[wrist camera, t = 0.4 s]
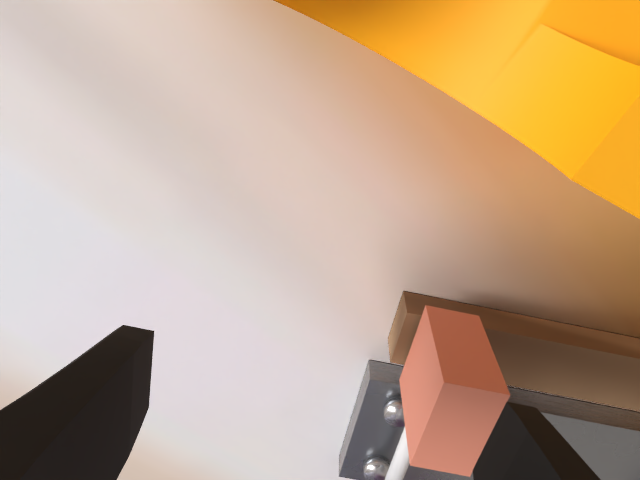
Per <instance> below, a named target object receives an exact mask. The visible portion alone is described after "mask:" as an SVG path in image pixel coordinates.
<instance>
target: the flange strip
mask: <svg viewBox="0 0 640 480" xmlns="http://www.w3.org/2000/svg"><path fill="white" fill-rule="evenodd" d="M403 368H404V367H403V366H397V365H392V364H387V363H382V362H377V361H372V360H369V361H368V365H367V368H366V371H365V374H364V377H363V381H362V384H361V387H360V390H359V393H358V397H357V400H356V403H355V406H354V410H353V413H352V416H351V419H350V422H349V426H348V429H347V432H346V435H345V439H344V442H343V445H342V448H341V451H340V455H339V477H345V478H350V479H356V480H385V477H386V474H387V472H388V469H389V467H390V464H391V461H392V459H393V456H394V454H395V451H396V448H397V446H398V443H399V440H400V438H401V435H402V433H403V430H404V427H405V422H404V414H403V406H402V398H401V390H400V382H399V379H400V376H401V373H402V370H403ZM507 388H508V390H509V393H510V397H509V399H508V401H507V402H511V403H516V404H521V405H526V406H531V407H536V408H537V409H538V410H539V411H540V412H541V413H542V414H543V416H544V417H545V418H546V419H547V420H548V421H549V422H550V423H551V424H552V425H553V426H554V427H555V429H556V430H557V431H558V432H559V433H560V434H561V435H562V436H563V438H564V439H565V440H566V441H567V442H568V443H569V444H570V445H571V447H572V448H573V449H574V450H575V451H576V452H577V453H578V454H579V456H580V457H581V458H582V459H583V460H584V461H585V462H586V464H587V465H588V466H589V467H590V468H591V469H592V470H593V471H594V473H595V474H596V475H597V476H598V477H599V478H600V479H601V480H640V413H639V412H634V411H629V410H623V409H618V408H613V407H608V406H603V405H598V404H593V403H587V402H582V401H577V400H572V399H567V398H562V397H557V396H551V395H546V394H541V393H536V392H531V391H526V390H521V389H516V388H510V387H507ZM403 480H474V479H473V472H472V474H471V476H470V477H468V476H463V475H457V474H452V473H447V472H441V471H436V470H431V469H425V468H420V467H415V466H410V464H409V466H408V469H407V471H406V474H405V476H404V479H403Z"/></svg>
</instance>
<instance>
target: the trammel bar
mask: <svg viewBox="0 0 640 480" xmlns="http://www.w3.org/2000/svg"><path fill="white" fill-rule="evenodd" d="M425 305H427V306H432V307H437V308H442V309H447V310H452V311H457V312H462V313H467V314H472V315H477V316H479V317H480V320H481V322H482V325H483V327H484V330H485V332H486V335H487V337H488V340H489V342H490V345H491V347H492V350H493V352H494V355H495V358H496V360H497V363H498V365H499V368H500V370H501V373H502V375H503V378H504V380H505V383H506V385H510V386H515V387H520V388H526V389H531V390H536V391H541V392H546V393H551V394H556V395H561V396H567V397H572V398H577V399H582V400H587V401H592V402H597V403H603V404H608V405H613V406H618V407H623V408H628V409H633V410H638V411H640V338H635V337H630V336H625V335H620V334H615V333H610V332H605V331H600V330H595V329H590V328H585V327H580V326H575V325H570V324H565V323H560V322H555V321H550V320H545V319H540V318H535V317H530V316H525V315H520V314H515V313H510V312H505V311H500V310H495V309H490V308H485V307H480V306H475V305H470V304H465V303H460V302H455V301H450V300H445V299H440V298H435V297H430V296H425V295H420V294H415V293H410V292H405V291H403V294H402V297H401V300H400V303H399V306H398V309H397V312H396V315H395V318H394V321H393V324H392V327H391V331H390V334H389V337H388V344H389V353H390V362H392V363H397V364H402V365H405V362H406V359H407V356H408V353H409V351H410V348H411V345H412V342H413V339H414V337H415V334H416V331H417V328H418V325H419V322H420V320H421V317H422V314H423V311H424V308H425Z"/></svg>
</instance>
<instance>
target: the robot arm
mask: <svg viewBox="0 0 640 480" xmlns="http://www.w3.org/2000/svg"><path fill="white" fill-rule="evenodd" d="M153 339H154V331H151V330H146V329H141V328H136V327H131V326H126V325H123V326H121V327H119V328H118V329H116V330H115V331H114V332H112V333H111V334H109V335H108V336H107V337H105V338H104V339H103V340H101V341H100V342H99V343H97V344H96V345H94V346H93V347H92V348H90V349H89V350H88V351H86V352H85V353H84V354H82V355H81V356H79V357H78V358H77V359H75V360H74V361H72V362H71V363H70V364H68V365H67V366H66V367H64V368H63V369H61V370H60V371H58V372H57V373H55V374H54V375H53V376H51V377H50V378H48V379H47V380H45V381H44V382H42V383H41V384H39V385H38V386H37V387H35V388H34V389H32V390H31V391H29V392H28V393H26V394H25V395H23V396H22V397H20V398H19V399H17V400H16V401H14V402H12V403H11V404H9V405H8V406H6V407H4V408H3V409H1V410H0V480H117V478H118V476H119V474H120V472H121V470H122V468H123V466H124V465H125V463H126V461H127V459H128V457H129V455H130V452H131V450H132V448H133V445H134V443H135V440H136V438H137V436H138V433H139V431H140V428H141V426H142V423H143V421H144V418H145V415H146V413H147V410H148V408H149V396H150V381H151V367H152V353H153ZM473 479H474V480H601V479H600V478H599V477H598V476H597V475H596V474H595V473H594V471H593V470H592V469H591V468H590V467H589V466H588V465H587V464H586V462H585V461H584V460H583V459H582V458H581V457H580V456H579V454H578V453H577V452H576V451H575V450H574V449H573V448H572V447H571V445H570V444H569V443H568V442H567V441H566V440H565V439H564V438H563V436H562V435H561V434H560V433H559V432H558V431H557V430H556V429H555V427H554V426H553V425H552V424H551V423H550V422H549V421H548V420H547V419H546V418H545V417H544V416H543V414H542V413H541V412H540V411H539V410H538V409H537V408H536V407H531V406H526V405H521V404H516V403H511V402H506V404H505V406H504V408H503V410H502V412H501V414H500V416H499V418H498V420H497V422H496V424H495V426H494V428H493V430H492V432H491V434H490V436H489V438H488V440H487V442H486V444H485V446H484V448H483V450H482V452H481V454H480V456H479V458H478V460H477V462H476V464H475V466H474V468H473Z"/></svg>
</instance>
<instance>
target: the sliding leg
mask: <svg viewBox="0 0 640 480" xmlns="http://www.w3.org/2000/svg"><path fill="white" fill-rule="evenodd" d="M399 382H400V390H401V398H402V406H403V414H404V422H405V427H404V430H403V433H402V435H401V438H400V440H399V443H398V446H397V448H396V451H395V454H394V456H393V459H392V461H391V464H390V467H389V469H388V472H387V474H386V477H385V480H403V479H404V476H405V474H406V471H407V469H408V466H409V464H410V466H415V467H420V468H425V469H431V470H436V471H441V472H447V473H452V474H457V475H463V476H468V477H470V476H471V474H472V472H473V468H474V466H475V464H476V462H477V460H478V458H479V456H480V454H481V452H482V450H483V448H484V446H485V444H486V442H487V440H488V438H489V436H490V434H491V432H492V430H493V428H494V426H495V424H496V422H497V420H498V418H499V416H500V414H501V412H502V410H503V408H504V406H505V404H506V402H507V401H508V399H509V397H510V393H509V390H508V388H507V385H506V383H505V380H504V378H503V375H502V373H501V370H500V368H499V365H498V363H497V360H496V358H495V355H494V352H493V350H492V347H491V345H490V342H489V340H488V337H487V335H486V332H485V330H484V327H483V325H482V322H481V320H480V317H479V316H477V315H472V314H467V313H462V312H457V311H452V310H447V309H442V308H437V307H432V306H427V305H425V308H424V311H423V314H422V317H421V320H420V322H419V325H418V328H417V331H416V334H415V337H414V339H413V342H412V345H411V348H410V351H409V353H408V356H407V359H406V362H405V365H404V368H403V370H402V373H401V376H400V379H399Z"/></svg>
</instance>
